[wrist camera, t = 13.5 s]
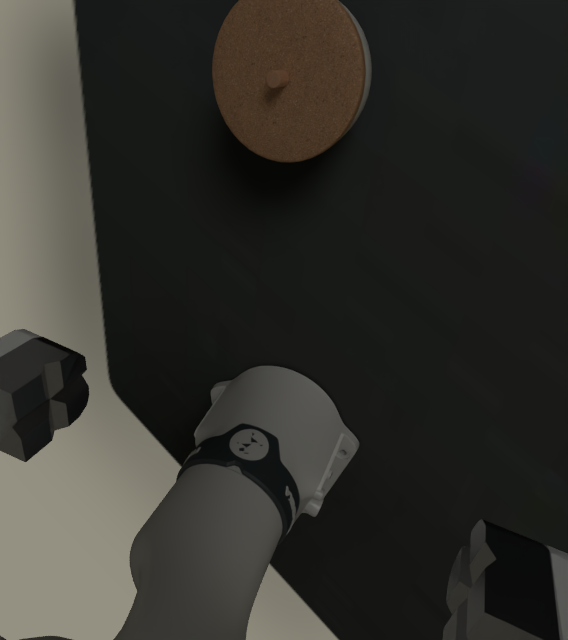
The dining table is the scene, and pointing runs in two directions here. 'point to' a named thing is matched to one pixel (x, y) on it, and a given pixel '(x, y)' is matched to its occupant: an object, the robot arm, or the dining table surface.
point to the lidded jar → (290, 75)
